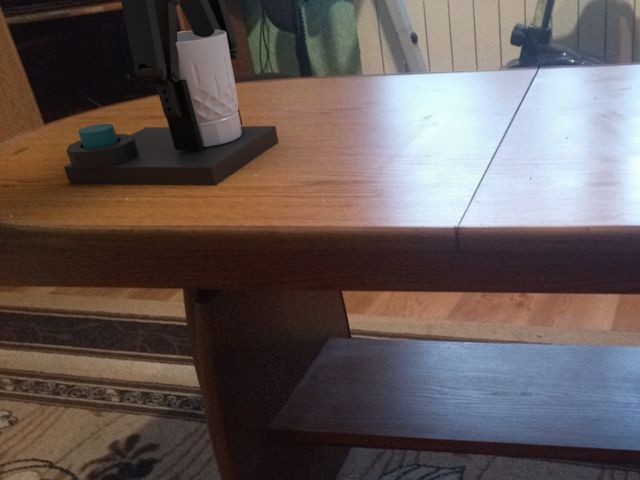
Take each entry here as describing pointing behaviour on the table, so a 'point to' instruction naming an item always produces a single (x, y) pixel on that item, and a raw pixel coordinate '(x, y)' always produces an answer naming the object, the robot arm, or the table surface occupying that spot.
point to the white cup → (210, 85)
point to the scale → (164, 159)
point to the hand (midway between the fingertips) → (210, 136)
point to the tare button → (98, 136)
